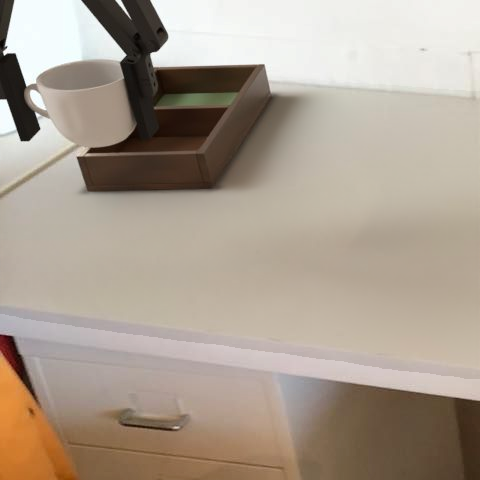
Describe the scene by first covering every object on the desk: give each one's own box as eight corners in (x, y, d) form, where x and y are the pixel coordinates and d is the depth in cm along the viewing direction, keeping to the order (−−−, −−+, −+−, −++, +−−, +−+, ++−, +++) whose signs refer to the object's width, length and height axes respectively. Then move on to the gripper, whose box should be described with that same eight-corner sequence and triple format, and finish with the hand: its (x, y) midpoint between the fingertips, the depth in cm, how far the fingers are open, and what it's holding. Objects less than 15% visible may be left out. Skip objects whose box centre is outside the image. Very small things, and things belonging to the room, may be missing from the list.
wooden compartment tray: (87, 191, 133) (75, 156, 130) (161, 98, 152) (152, 66, 149) (212, 188, 132) (203, 153, 130) (271, 95, 151) (264, 63, 148)
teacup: (162, 122, 116) (146, 59, 112) (126, 157, 110) (107, 92, 106) (58, 118, 117) (38, 57, 113) (16, 153, 111) (-6, 89, 108)
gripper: (162, -171, 101) (228, 116, 116) (-120, -165, 102) (-19, 119, 117) (131, -149, 95) (205, 150, 110) (-167, -142, 96) (-54, 153, 111)
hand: (90, 134), depth 113 cm, fingers closed on teacup, 10 cm apart
